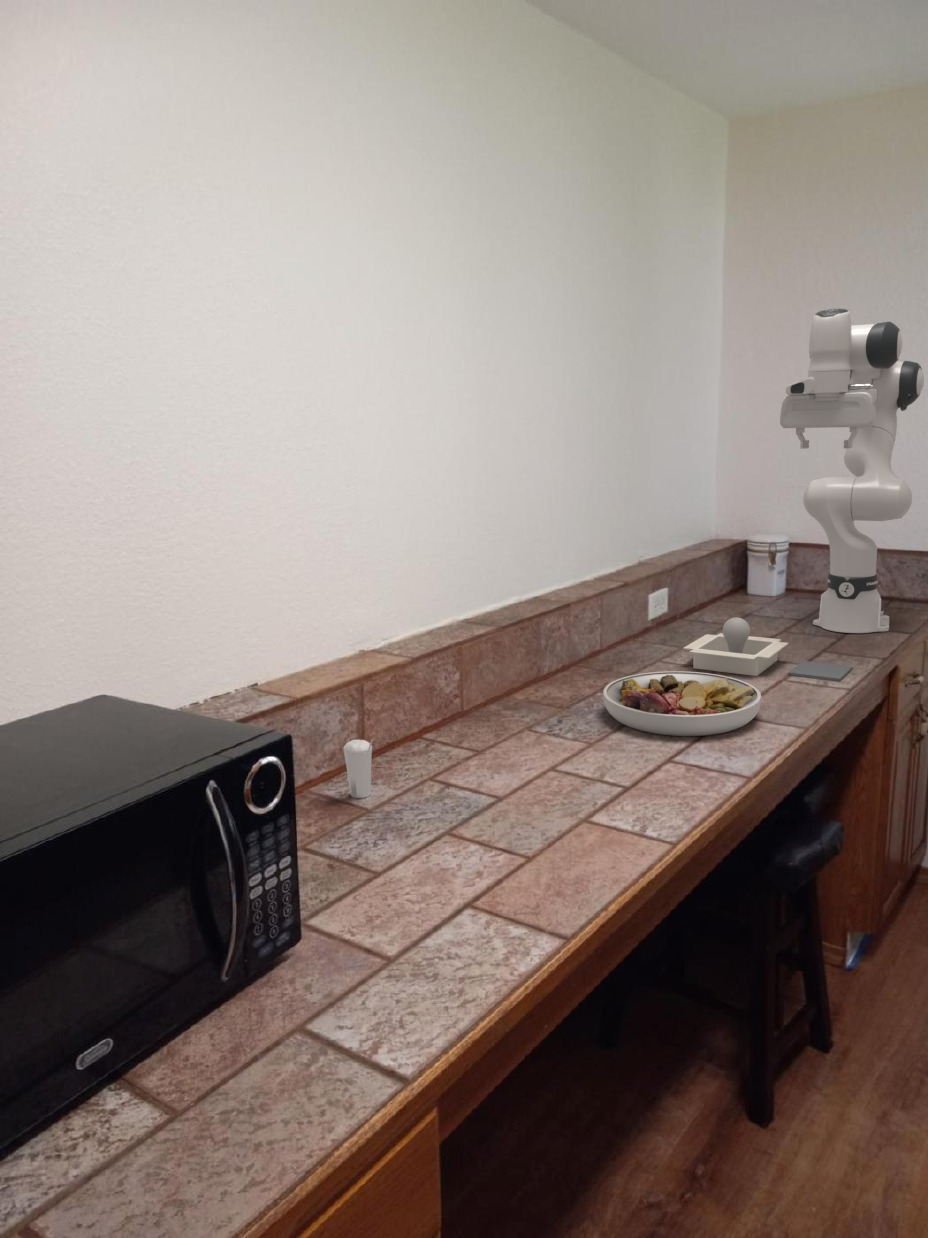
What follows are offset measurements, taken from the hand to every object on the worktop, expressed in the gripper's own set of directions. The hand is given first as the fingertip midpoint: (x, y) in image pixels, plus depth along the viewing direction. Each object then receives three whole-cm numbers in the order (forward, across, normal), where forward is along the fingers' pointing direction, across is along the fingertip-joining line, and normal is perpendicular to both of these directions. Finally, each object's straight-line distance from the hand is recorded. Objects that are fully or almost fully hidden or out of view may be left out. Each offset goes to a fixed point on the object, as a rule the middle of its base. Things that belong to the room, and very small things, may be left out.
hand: (826, 448), depth 222 cm
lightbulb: (+48, +14, +16) cm, 53 cm away
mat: (+48, -4, +14) cm, 50 cm away
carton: (+48, +14, +16) cm, 53 cm away
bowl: (+48, +11, +56) cm, 75 cm away
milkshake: (+48, +40, +118) cm, 134 cm away
